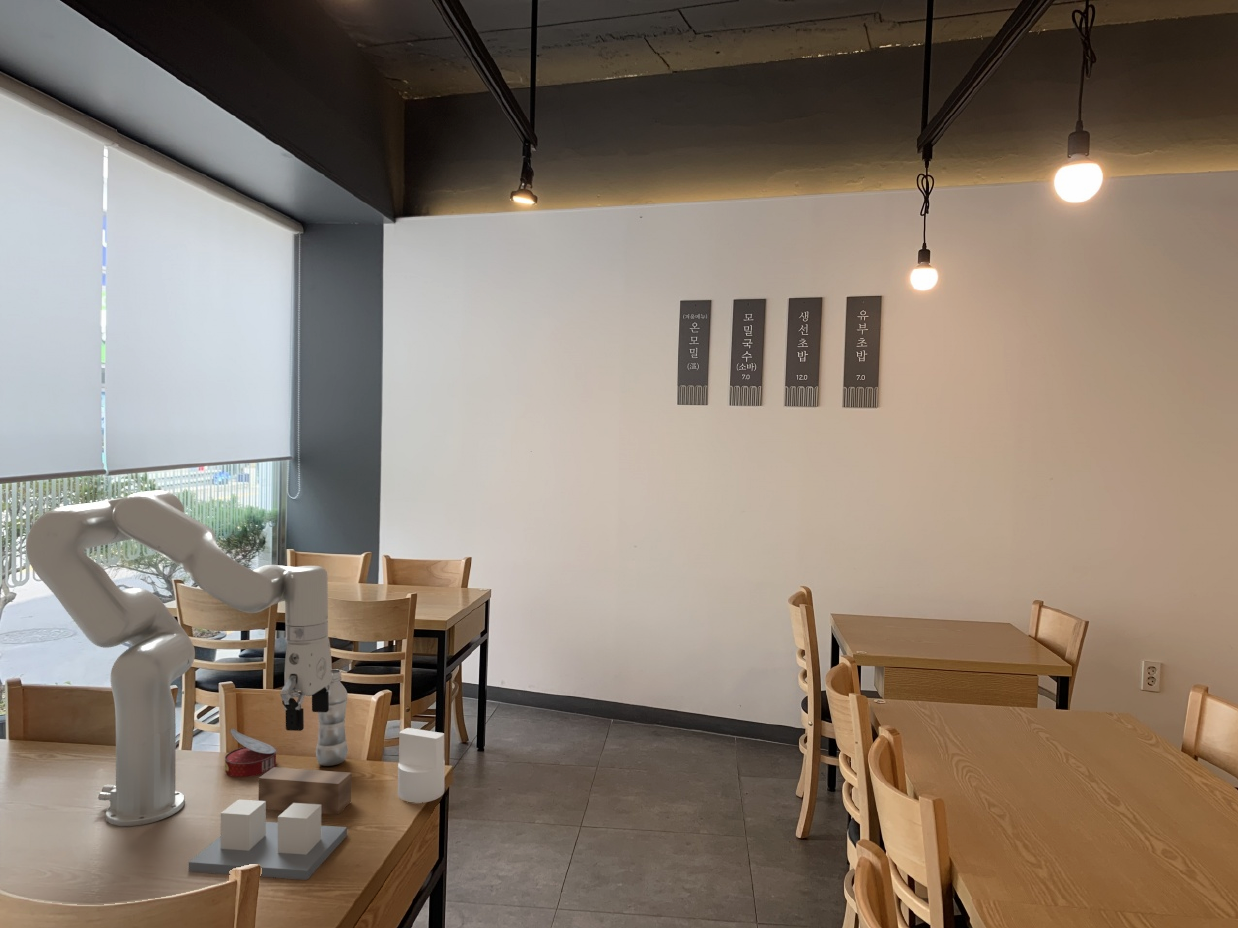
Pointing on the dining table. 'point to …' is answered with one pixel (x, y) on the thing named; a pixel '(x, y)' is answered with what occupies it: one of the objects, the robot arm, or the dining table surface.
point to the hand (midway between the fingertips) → (307, 720)
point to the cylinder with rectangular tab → (420, 765)
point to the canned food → (249, 757)
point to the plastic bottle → (333, 725)
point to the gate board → (270, 841)
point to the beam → (305, 789)
